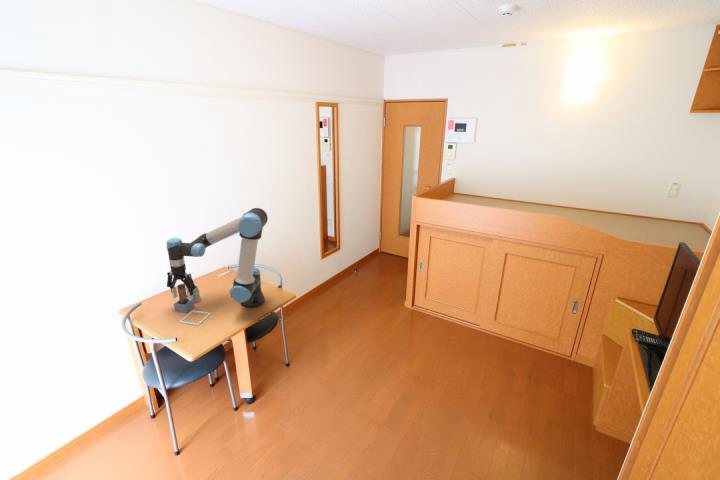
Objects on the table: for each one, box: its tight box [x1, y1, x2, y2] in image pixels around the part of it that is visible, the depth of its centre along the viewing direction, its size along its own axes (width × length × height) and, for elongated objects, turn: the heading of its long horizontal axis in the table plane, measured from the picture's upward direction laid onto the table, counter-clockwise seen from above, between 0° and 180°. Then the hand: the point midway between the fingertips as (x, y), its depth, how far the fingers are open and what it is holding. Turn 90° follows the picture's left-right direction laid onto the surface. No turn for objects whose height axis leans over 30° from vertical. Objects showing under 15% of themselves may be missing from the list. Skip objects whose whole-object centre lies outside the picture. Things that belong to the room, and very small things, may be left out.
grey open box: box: [173, 298, 195, 314], centre depth 200 cm, size 8×8×6 cm
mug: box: [185, 284, 202, 304], centre depth 208 cm, size 8×12×12 cm, turn 88°
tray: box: [178, 309, 212, 327], centre depth 192 cm, size 12×12×2 cm
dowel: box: [176, 283, 188, 305], centre depth 198 cm, size 4×4×16 cm
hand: (183, 298), depth 198 cm, fingers open, 10 cm apart
